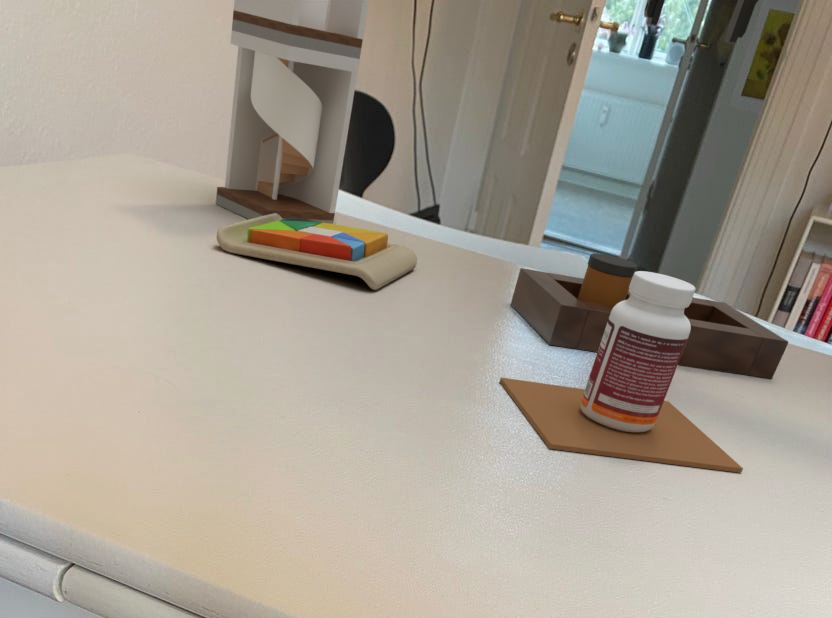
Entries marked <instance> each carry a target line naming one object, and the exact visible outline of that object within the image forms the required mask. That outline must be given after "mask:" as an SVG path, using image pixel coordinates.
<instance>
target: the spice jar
mask: <svg viewBox="0 0 832 618" xmlns="http://www.w3.org/2000/svg"><path fill="white" fill-rule="evenodd" d="M637 271H638V265H637V264H636V263H635V262H632V261H630V260H628V259H625V258H621V257H619V256H614V255H612V254H611V255H610V254H607V253H606V254H605V253H596V252H595V253H590V255H589V257H588V260H587V267H586V271H585V274H584V277H583V279H584V280H583V283H582V286H581V289H580V292H579V296H578V300H579V301H584V302H590V303H596V304H602V305H608V306H615V305H616V304H617V303H619V302H621V301H624V300H625V299H626V296H627V293H628V290H629V285H630V283H631V280H632V278H633V275H634V273H635V272H637Z"/></svg>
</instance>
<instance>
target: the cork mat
mask: <svg viewBox="0 0 832 618" xmlns="http://www.w3.org/2000/svg"><path fill="white" fill-rule="evenodd" d="M499 383H500V384H501V386H502V387H503V388H504V390H505V391H506V392H507V394H508V395H509V396H510V398H511V399H512V400H513V402H514V403H515V405H516V406H517V407H518V408H519V410H520V411H521V412H522V414H523V415H524V416H525V418H526V420H528V422H529V423H530V425H531V426H532V427H533V429H534V430H535V431H536V432H537V434H538V435H539V436H540V438H541V439H542V441H543V442H544V444H545V445H546V446H547V447H548V449H550V450H556V451H562V452H563V451H564V452H565V451H566V452H571V453H572V452H573V453H579V454H580V453H581V454H588V455H595V456H603V457H604V456H605V457H611V458H618V459H619V458H620V459H627V460H628V459H629V460H635V461H644V462H652V463H659V464H667V465H675V466H683V467H691V468H698V469H699V468H700V469H707V470H715V471H722V472H731V473H739V474H742V472H743V471H744V467H742V466H741V465H740V464H739V463H737V461H736V460H735V459H734V458H733V457H731V456H730V455H729V454H728V453H727V452H725V451H724V450H723V449H722V448H721V447H720V446H719V445H718V444H717V443H716V442H715V441H713V440H712V439H711V438H710V437H709V436H708V435H707V434H706V433H704V432H703V431H702V430H701V429H700V428H699V427H698V426H697V425H696V424H694V423H693V421H691V420H690V419H689V418H688V417H687V416H685V415H684V414H683V413H682V412H681V411H680V410H679V409H678V408H677V407H675V406H674V404H672V403H671V402H670V401H669V400H664V402H663V405H662V407H661V410H660V412H659V415H658V418H657V420H656V422H655V425H654V426H653V428H652V429H650V430H648V431H645V432H636V433H634V432H624V431H620V430H616V429H612V428H609V427H606V426H604V425H601V424H599V423H597V422H595V421H593V420H591V419H590V418H588V417H587V416H586V415H584V414H583V412H582V411H581V401H582V397H583V394H584V391H585V388H578V387H571V386H566V385H565V386H563V385H556V384H550V383H544V382H543V383H542V382H536V381H529V380H523V379H522V380H521V379H515V378H508V377H500V379H499Z"/></svg>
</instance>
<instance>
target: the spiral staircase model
mask: <svg viewBox="0 0 832 618" xmlns="http://www.w3.org/2000/svg"><path fill="white" fill-rule="evenodd" d="M369 3H370V0H234V1H233V12H232V23H231V34H230V35H231V36H230V45H233V46H236V47H237V57H236V66H235V67H236V68H235V77H234V78H235V79H234V87H233V99H232V109H231V118H230V129H229V131H230V132H229V139H228V150H227V161H226V171H225V182H224V186H217V187H216V197H215V205H217V206H220V207H222V208H224V209H226V210H228V211H230V212H232V213H234V214H236V215H239V216H240V217H243V218H245V219H246V220H249V219H253V218H257V217H261V216H265V215H269V214H273V213H276V214H278V215H280V217H281V218H282V219H287V218H291V217H296V218H301V219H308V220H313V221H319V222H323V223H330V224H334V223H335V222H334V220H335V215H336V207H337V203H338V196H339V190H340V183H341V178H342V173H343V165H344V159H345V153H346V146H347V140H348V135H349V134H348V133H349V128H350V120H351V115H352V109H353V103H354V97H355V90H356V84H357V79H358V72H359V67H360V59H361V53H362V48H363V47H362V46H363V41H364V34H365V28H366V22H367V16H368V10H369Z"/></svg>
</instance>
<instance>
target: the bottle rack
mask: <svg viewBox="0 0 832 618" xmlns="http://www.w3.org/2000/svg"><path fill="white" fill-rule="evenodd" d="M583 280H584V277H583V278H581V277H578V276H577V277H576V276H571V275H566V274H565V275H564V274H558V273H553V272H548V271H547V272H546V271H541V270H536V269H531V268H530V269H528V268H525V267H524V268H523V267H520V269H519V273H518V275H517V279H516V283H515V286H514V290H513V294H512V298H511V301H510V306H511V307H512V308H513V309H514V310H515V311H516V312H517V311H518V312H519V313H520V314H521V315H522V316H521V315H520V314H519V313H518V312H517V313H518V314H519V315H520V316H521V317H522V318H523V319H524V320H525V321H526V322H527V323H528V324H529V326H530V327H532V328H533V330H534V331H535V332H537V334H538V335H539V336H540V337H541V338H542V339H543V340H544V341H545V342H546V343H547V344H548V345H549V346H554V347H560V348H561V347H562V348H565V349H573V350H581V351H587V352H593V353H597V352H598V349H599V346H600V343H601V340H602V337H603V334H604V331H605V328H606V325H607V322H608V319H609V316H610V313H611V311H612V309H613V307H614V306H608V305H602V304H596V303H590V302H584V301H579V300H578V296H579V292H580V289H581V286H582V283H583ZM630 295H631V293H630V292H629V290H628V293H627V296H626V299H625V300H627V299H629V297H630ZM684 315H685V316H686V317H687V318H688V320H689V322H690V325H691V330H690V334H689V337H688V340H687V342H686V345H685V347H684V350H683V353H682V355H681V358H680V360H679V363H678V365H679V366H685V367H692V368H697V369H703V370H712V371H716V372H717V371H718V372H723V373H724V372H725V373H731V374H737V375H744V376H750V377H757V378H763V379H770V380H772V379H773V378H774V375H775V373H776V371H777V369H778V367H779V365H780V362H781V360H782V359H783V355H784V354H785V351H786V349H787V347H788V345H789V341H788V340H787V339H785V338H784V337H782V336H780V335H778V334H777V333H775V332H774V331H772V330H771V329H769V328H767V327H765V326H763V325H762V324H761V323H759V322H757V321H756V320H754V319H752V318H750V317H749V316H748V315H746V314H744V313H743V312H741V311H739V310H737V309H736V308H734V307H733V306H731V305H729V304H728V303H726V302H722V301H716V300H711V299H706V298H705V299H704V298H699V297H694V296H693V298H692V301H691V304H690V305H689V307H687V308H685V309H684ZM678 365H677V366H678Z"/></svg>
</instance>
